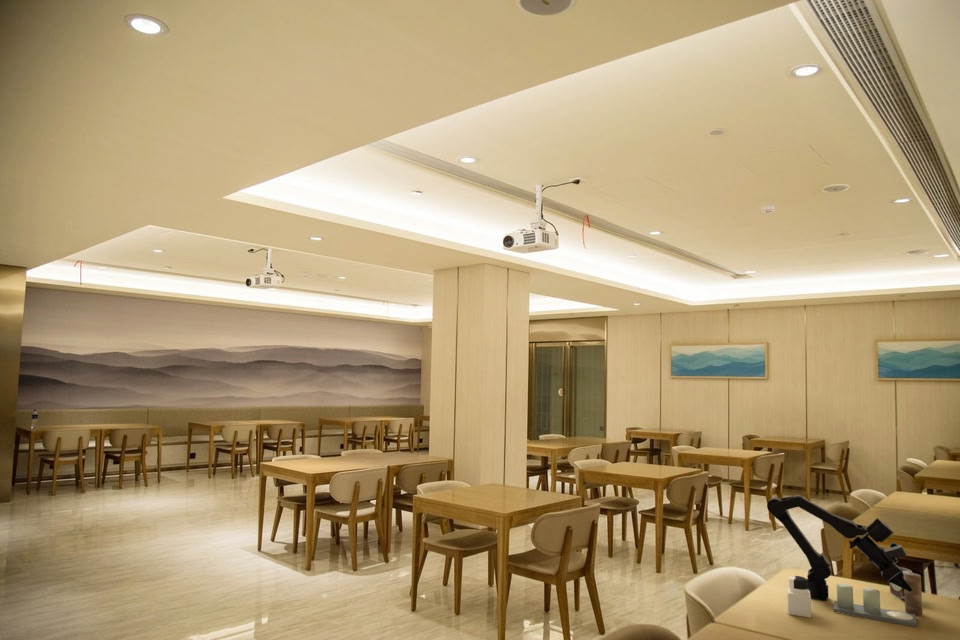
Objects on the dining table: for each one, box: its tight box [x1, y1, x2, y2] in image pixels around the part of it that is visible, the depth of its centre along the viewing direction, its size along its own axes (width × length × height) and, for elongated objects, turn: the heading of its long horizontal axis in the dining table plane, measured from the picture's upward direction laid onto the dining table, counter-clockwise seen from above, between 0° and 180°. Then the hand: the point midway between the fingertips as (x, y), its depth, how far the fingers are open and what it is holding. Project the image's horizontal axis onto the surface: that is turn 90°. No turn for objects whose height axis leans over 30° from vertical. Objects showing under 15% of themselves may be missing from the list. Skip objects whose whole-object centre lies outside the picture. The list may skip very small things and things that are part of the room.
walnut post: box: [904, 572, 924, 616], centre depth 223 cm, size 5×5×13 cm
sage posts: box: [836, 583, 881, 614], centre depth 222 cm, size 13×5×7 cm, turn 58°
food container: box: [888, 566, 913, 601], centre depth 240 cm, size 12×6×10 cm, turn 168°
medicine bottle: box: [786, 575, 813, 618], centre depth 220 cm, size 7×7×12 cm
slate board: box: [832, 600, 918, 628], centre depth 219 cm, size 24×10×1 cm, turn 58°
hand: (910, 587), depth 223 cm, fingers open, 9 cm apart
